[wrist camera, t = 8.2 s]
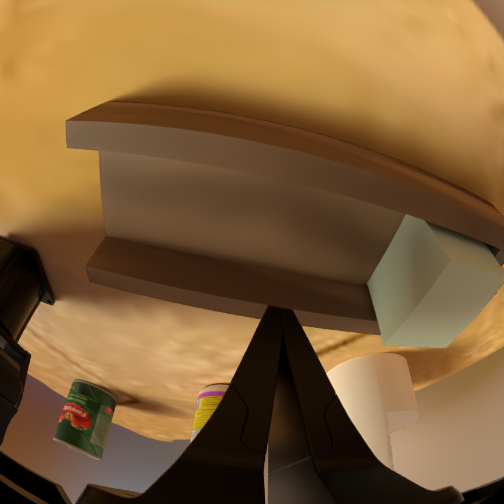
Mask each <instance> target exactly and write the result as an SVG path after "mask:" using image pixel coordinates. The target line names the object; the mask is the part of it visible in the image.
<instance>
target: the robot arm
mask: <svg viewBox="0 0 504 504" xmlns="http://www.w3.org/2000/svg"><path fill="white" fill-rule="evenodd" d="M40 302H44V303H46V304H49V305H54V303H55V298H54V296H53V294H52V291H51V289H50V286H49V284H48V281H47V278H46V276H45V273H44V270H43V268H42V265H41V262H40V259H39V256H38V253H37V252H36V251H35V250H34V249H32V248H29V247H26V246H22V245H19V244H15V243H12V242H9V241H6V240H2V239H0V445H1V444H2V442H3V439H4V435H5V432H6V429H7V427H8V424H9V423H10V421H11V419H12V418H13V416H14V415H15V414H16V413H17V411H18V407H19V405H20V402H21V400H22V396H23V391H24V386H25V380H26V376H27V371H28V367H29V363H30V359H31V354H30V353H29V352H28V351H25V350H24V349H23V348H22V347H21V346H20V345H19V344H18V341H19V339H20V337H21V335H22V333H23V331H24V330H25V328H26V326H27V324H28V322H29V321H30V319H31V317H32V315H33V314H34V312H35V310H36V309H37V307H38V305H39V304H40ZM335 393H336V392H335V390H334V388H333V386H332V384H331V382H330V380H329V378H328V376H327V374H326V372H325V370H324V368H323V366H322V364H321V363H320V361H319V359H318V357H317V355H316V353H315V351H314V349H313V347H312V345H311V343H310V341H309V340H308V338H307V336H306V334H305V332H304V330H303V328H302V326H301V324H300V322H299V320H298V319H297V317H296V315H295V313H294V311H293V310H292V309H291V308H285V307H281V308H280V307H278V306H273V305H268V306H267V308H266V310H265V312H264V314H263V316H262V319H261V321H260V323H259V325H258V327H257V329H256V331H255V333H254V335H253V338H252V340H251V342H250V344H249V346H248V348H247V350H246V352H245V354H244V356H243V358H242V360H241V362H240V364H239V366H238V368H237V370H236V372H235V374H234V376H233V378H232V380H231V383H230V384H229V386H228V388H227V390H226V392H225V394H224V396H223V397H222V399H221V401H220V403H219V405H218V406H217V408H216V409H215V411H214V412H213V414H212V415H211V417H210V418H209V419H208V421H207V422H206V423H205V425H204V426H203V427H202V429H201V430H200V431H199V433H198V434H197V435H196V437H195V438H194V439H193V440H192V442H191V443H190V444H189V446H188V447H187V448H186V450H185V451H184V452H183V453H182V454H181V456H180V457H179V458H178V459H177V460H176V461H175V462H174V463H173V464H172V465H171V466H170V467H169V468H168V469H167V470H166V471H165V472H164V473H163V474H162V475H161V476H160V477H159V478H158V479H157V480H156V481H155V483H153V484H152V485H151V486H150V487H149V488H148V489H147V490H146V491H145V492H144V493H138V492H134V491H128V490H122V489H115V488H110V487H105V486H100V485H96V484H91V483H90V484H87V485H86V487H85V488H84V490H83V492H82V493H81V495H80V496H79V498H78V500H77V501H76V504H265V488H264V462H265V455H266V450H267V444H268V504H504V477H501V478H499V479H497V480H494V481H492V482H490V483H487V484H484V485H482V486H479V487H476V488H473V489H470V490H467V491H464V492H461V493H460V492H459V491H458V490H457V489H455V488H454V487H453V486H447V487H444V488H441V489H437V490H434V491H431V490H427V489H425V488H423V487H421V486H419V485H417V484H416V483H414V482H412V481H410V480H408V479H407V478H405V477H403V476H402V475H400V474H398V473H396V472H395V471H393V470H391V469H390V468H388V467H387V466H385V465H384V464H383V463H382V462H381V461H379V459H378V458H377V457H376V456H375V455H374V453H373V452H372V450H371V449H370V448H369V446H368V445H367V443H366V442H365V440H364V439H363V437H362V436H361V434H360V433H359V431H358V430H357V428H356V427H355V425H354V424H353V422H352V420H351V419H350V417H349V416H348V414H347V412H346V410H345V409H344V407H343V405H342V403H341V401H340V399H339V397H338V395H337V394H335ZM0 504H72V503H71V501H70V500H69V498H68V496H67V495H66V493H65V491H64V489H63V488H62V486H60V485H59V484H57V483H55V482H53V481H51V480H49V479H47V478H45V477H43V476H41V475H40V474H38V473H36V472H34V471H33V470H31V469H29V468H27V467H26V466H24V465H23V464H21V463H19V462H18V461H16V460H15V459H13V458H11V457H10V456H8V455H7V454H5V453H4V452H2V451H0Z"/></svg>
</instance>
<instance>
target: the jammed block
mask: <svg viewBox="0 0 504 504" xmlns="http://www.w3.org/2000/svg"><path fill="white" fill-rule="evenodd" d="M503 284H504V270H503V269H502V267H501V266H500V264H499V263H498V261H497V260H496V259H495V257H494V256H493V254H492V253H491V251H490V250H489V249H488V247H487V246H486V244H485V243H484V242H482V241H479V240H477V239H474V238H472V237H469V236H466V235H464V234H461V233H458V232H456V231H453V230H450V229H448V228H445V227H442V226H439V225H436V224H434V223H431V222H428V221H425V220H422V219H419V218H416V217H413V216H410V215H407V214H406V215H405V217H404V219H403V221H402V223H401V225H400V227H399V228H398V230H397V232H396V234H395V236H394V238H393V239H392V241H391V243H390V245H389V247H388V248H387V250H386V252H385V254H384V255H383V257H382V259H381V261H380V262H379V264H378V266H377V267H376V269H375V271H374V272H373V274H372V276H371V277H370V279H369V281H368V282H367V285H368V288H369V291H370V295H371V298H372V302H373V306H374V309H375V313H376V317H377V320H378V324H379V328H380V332H381V336H382V340H383V345H389V346H405V347H426V348H447V347H448V346H449V345H450V344H451V343H452V342H453V341H454V340H455V339H456V338H457V337H458V336H459V335H460V334H461V333H462V331H463V330H464V329H465V328H466V327H467V326H468V325H469V324H470V323H471V322H472V321H473V320H474V319H475V317H476V316H477V315H478V314H479V313H480V312H481V311H482V309H483V308H484V307H485V306H486V305H487V304H488V302H489V301H490V300H491V299H492V298H493V296H494V295H495V294H496V293H497V291H498V290H499V289H500V287H501V286H502V285H503Z"/></svg>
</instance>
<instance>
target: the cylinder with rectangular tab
mask: <svg viewBox="0 0 504 504" xmlns="http://www.w3.org/2000/svg"><path fill="white" fill-rule="evenodd" d="M327 376H328V378H329V380H330V382H331V384H332V386H333V388H334V390H335V392H336V393H335V394H337V395H338V397H339V399H340V401H341V403H342V405H343V407H344V409H345V410H346V412H347V414H348V416H349V417H350V419H351V420H352V422H353V424H354V425H355V427H356V428H357V430H358V431H359V433H360V434H361V436H362V437H363V439H364V440H365V442H366V443H367V445H368V446H369V448H370V449H371V450H372V452H373V453H374V455H375V456H376V457H377V458H378V459H379V461H381V462H382V463H383V464H384V465H385V466H387V467H388V468H390V469H391V470H393V471H394V468H393V457H392V447H391V439H390V432H393V431H396V430H398V429H401V428H403V427H405V426H407V425H409V424H410V423H412V422H413V421H415V420H416V419H417V417H418V416H419V415H418V409H417V404H416V399H415V394H414V390H413V385H412V381H411V376H410V372H409V368H408V364H407V361H406V358H404V357H403V356H402V355H399V354H395V353H373V354H368V355H363V356H359V357H356V358H353V359H350V360H347V361H345V362H343V363H341V364H339V365H337V366H335V367H334V368H332V369H331V370H330V371H329V372H328V373H327Z"/></svg>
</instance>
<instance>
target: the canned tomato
mask: <svg viewBox="0 0 504 504" xmlns="http://www.w3.org/2000/svg"><path fill="white" fill-rule="evenodd" d="M116 403H117V399H116V397H115V396H113V395H112V394H111V393H109V392H108V391H106V390H105V389H103V388H101V387H99V386H97V385H95V384H92V383H90V382H87V381H84V380H79V379H76V380H74V381H73V384H72V387H71V389H70V392H69V394H68V397H67V400H66V403H65V406H64V408H63V411H62V414H61V417H60V420H59V424H58V427H57V429H56V433H55V436H54V440H55V441H57V442H58V443H60V444H62V445H64V446H66V447H68V448H70V449H72V450H74V451H77V452H79V453H81V454H84V455H86V456H89V457H91V458H94V459H97V460H101V458H102V454H103V451H104V446H105V443H106V439H107V435H108V431H109V427H110V424H111V421H112V417H113V413H114V410H115V407H116Z"/></svg>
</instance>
